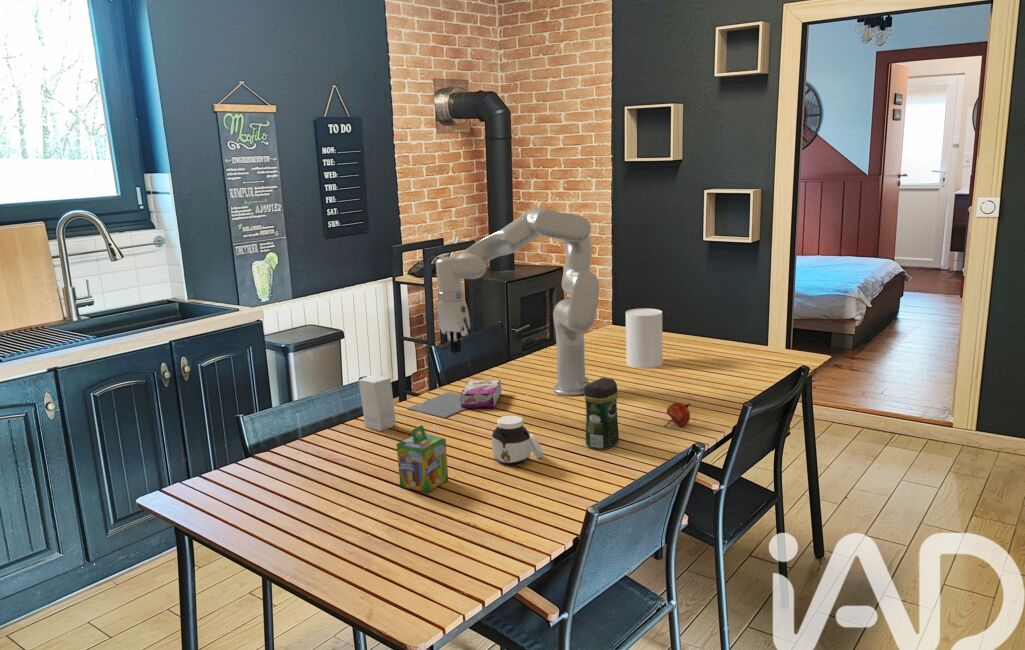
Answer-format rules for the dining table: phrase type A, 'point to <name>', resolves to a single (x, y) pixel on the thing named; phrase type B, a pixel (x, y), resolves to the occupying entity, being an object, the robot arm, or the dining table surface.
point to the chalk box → (422, 461)
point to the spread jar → (513, 442)
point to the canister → (644, 338)
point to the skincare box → (377, 402)
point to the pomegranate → (679, 414)
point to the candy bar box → (480, 393)
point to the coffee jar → (601, 413)
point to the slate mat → (441, 405)
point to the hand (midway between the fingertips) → (456, 351)
